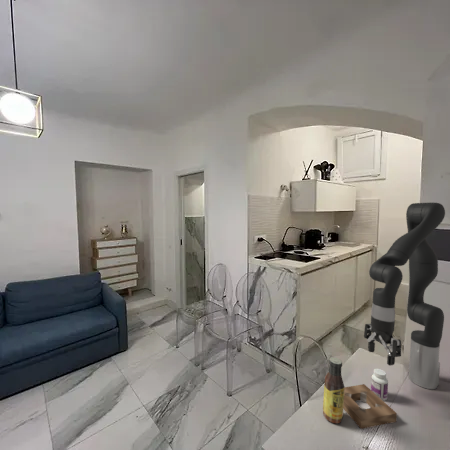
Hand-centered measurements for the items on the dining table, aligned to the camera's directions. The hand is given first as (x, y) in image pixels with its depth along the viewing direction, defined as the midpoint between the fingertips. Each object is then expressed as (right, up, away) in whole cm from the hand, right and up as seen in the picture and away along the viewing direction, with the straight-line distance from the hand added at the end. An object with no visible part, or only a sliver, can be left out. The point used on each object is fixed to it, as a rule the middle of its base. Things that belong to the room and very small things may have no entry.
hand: (380, 357), depth 91 cm
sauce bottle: (-23, -15, -9) cm, 29 cm away
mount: (-10, -15, -6) cm, 19 cm away
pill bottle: (0, -15, +1) cm, 15 cm away
